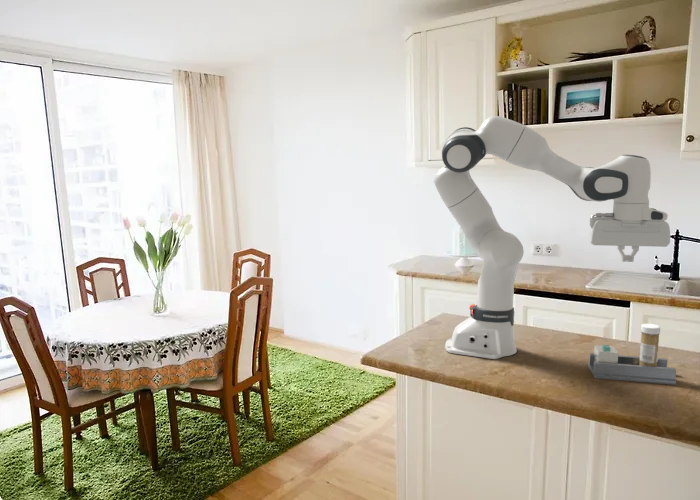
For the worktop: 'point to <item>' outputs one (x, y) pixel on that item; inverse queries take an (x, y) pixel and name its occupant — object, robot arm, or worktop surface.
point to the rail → (628, 367)
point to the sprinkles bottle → (649, 345)
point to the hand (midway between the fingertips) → (627, 261)
